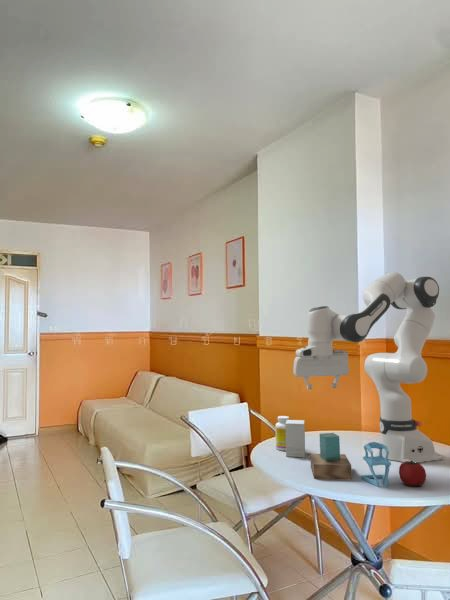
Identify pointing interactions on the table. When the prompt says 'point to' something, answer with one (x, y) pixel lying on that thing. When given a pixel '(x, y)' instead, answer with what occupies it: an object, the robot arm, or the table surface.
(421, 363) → the robot arm
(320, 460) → the walnut block
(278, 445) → the supplement bottle
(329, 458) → the spice tin
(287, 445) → the supplement box
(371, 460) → the chair
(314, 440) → the table surface
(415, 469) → the tomato
